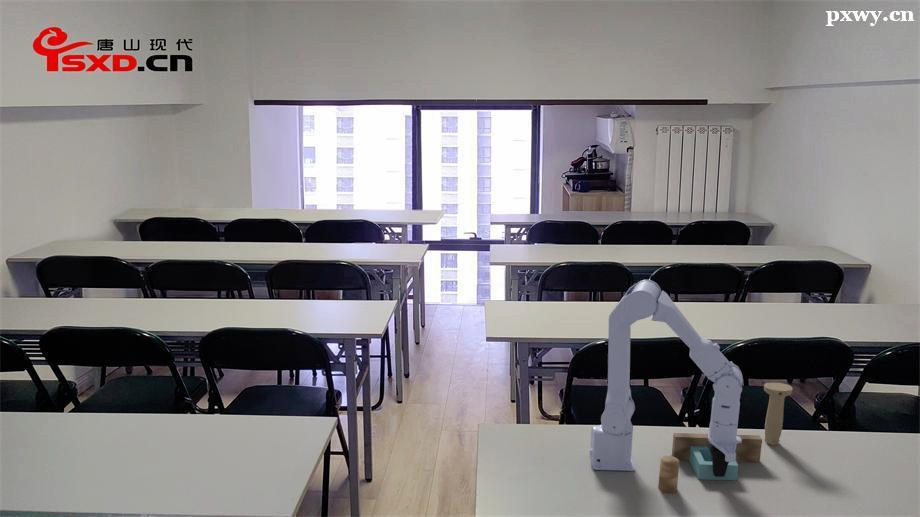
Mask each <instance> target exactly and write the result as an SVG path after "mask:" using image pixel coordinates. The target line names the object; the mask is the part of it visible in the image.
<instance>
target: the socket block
mask: <svg viewBox="0 0 920 517" xmlns="http://www.w3.org/2000/svg"><path fill="white" fill-rule="evenodd" d="M688 461H689V462H690V465H691V467H692V468H693V472H694V473H695V476H696V478H697V479H698V480H713V481H716V480H717V481H738V472H739V464H738V462H736V461H735V462H729V463H728V465H727V470H726V473H725V476H724V477H715V476H714V473H713V465H712V457H711V453H710V450H709V448H708V446H691V448H690V459H689V460H688Z"/></svg>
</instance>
